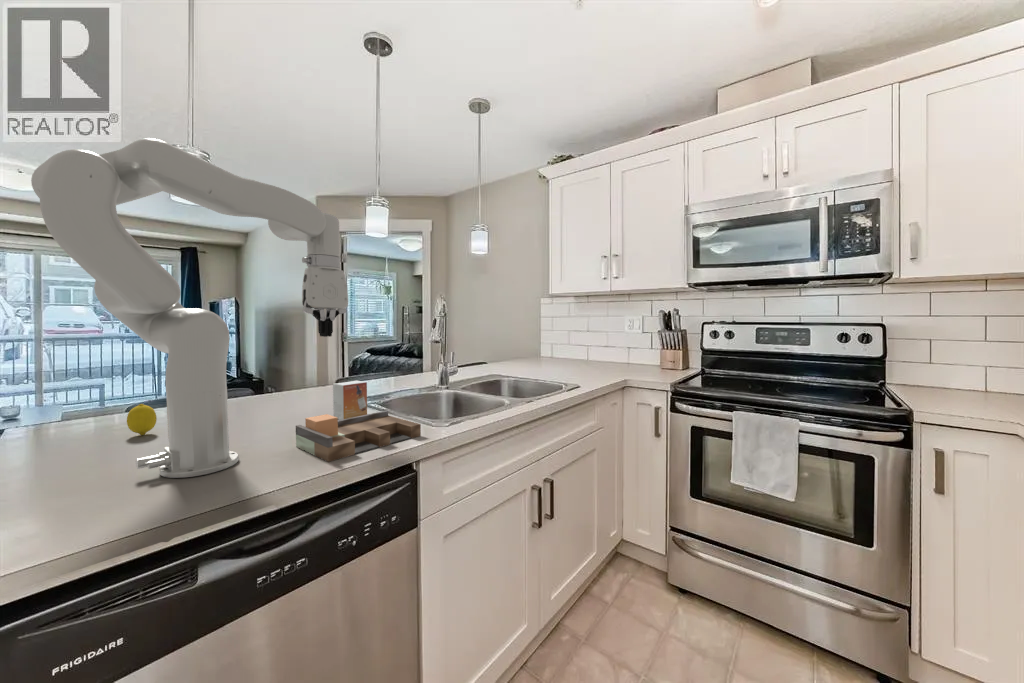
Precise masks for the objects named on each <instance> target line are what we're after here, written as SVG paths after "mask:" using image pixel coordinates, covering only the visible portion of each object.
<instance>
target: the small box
mask: <svg viewBox="0 0 1024 683" xmlns="http://www.w3.org/2000/svg"><path fill="white" fill-rule="evenodd" d="M332 406H333V408H332V410H333V415H332V416H334V417H337V418H338V420H343V419H347V418H352V417H357V416H362V415H367V414H368V383H367V381H362V380H351V381H345V382H338V383H332Z"/></svg>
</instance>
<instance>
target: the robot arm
mask: <svg viewBox="0 0 1024 683" xmlns="http://www.w3.org/2000/svg"><path fill="white" fill-rule="evenodd" d="M30 181H31V187H32V190H33V192H34V193H35V195H36V196H37V198H38V199H39V206H40V212H41V216H42V219H43V221H44V224H45V226H46V228H47V230H48V232H49V234H50V235H51V237H52V238H53V239H54V241H55V242H56V243H57V245H58V246H59V247H60V248H61V249H62V250H63V251H64V252H65V254H67V255H68V256H69V257H70V258H71V259H73V260H74V261H75V263H77V264H78V266H80V267H81V269H83V270H84V271H85V272H86V273H87V274H88V275H89V276H90V277H92V278H93V280H95V281H94V293H95V296H96V298H97V299H98V301H99V303H100V304H101V305H102V306H103V307H104V308H105V310H107V311H108V312H109V313H111V314H112V316H114V317H115V318H116V319H118V321H119V322H121V323H122V324H124V326H126V328H128V329H130V331H132V332H133V333H135V335H137V336H138V337H139V338H140V339H142V340H143V341H144V342H146V343H147V344H148V345H149V346H151V347H152V348H154V349H155V350H157V351H160V352H162V353H163V354H168V355H167V356H168V357H167V362H166V367H165V368H166V369H165V395H166V413H167V435H168V436H167V437H168V439H167V440H168V446H165V447H163V451H161V452H158V453H157V454H155V455H150V456H143V457H137V458H136V459H135V466H136V469H137V470H140V469H145V468H148V470H150V469H156V468H158V467H159V468H158V470H159V475H160V476H162V477H164V478H169V479H180V478H181V479H184V478H185V479H186V478H192V477H194V478H195V477H198V476H204V475H210V474H213V473H216V472H220V471H223V470H225V469H228V468H230V467H233V466H234V465H236V464H237V462H239V459H240V458H239V457H240V456H239V453H238V452H236V451H233V450H230V434H229V411H228V410H229V408H228V405H229V404H228V386H227V385H228V384H227V364H228V363H227V360H228V356H229V355H228V354H229V348H230V347H229V346H230V330H229V327H228V325H227V323H226V322H225V320H224V319H223V318H222V317H221V316H220V315H219V314H217V313H215V312H213V311H211V310H207V309H206V308H205V309H204V308H199V307H198V308H197V307H195V308H194V307H193V308H191V307H190V308H189V307H187V308H186V307H184V306H183V305H182V304H181V302H179V300H180V298H181V287H180V285H179V283H178V281H177V280H176V279H175V277H174V276H173V275H172V274H171V273H170V272H169V271H167V270H166V269H165V268H164V266H162V265H161V264H160V263H159V262H158V261H157V260H156V259H155V258H154V257H153V256H152V255H151V254H150V253H149V252H148V251H147V250H145V248H143V247H142V246H141V245H140V243H138V241H137V240H136V239H135V238H134V237H133V236H132V235H131V234H130V233H129V232H128V230H126V228H125V226H124V225H123V224H122V222H121V221H120V217H119V216H118V215H119V214H118V213H117V206H118V205H121V204H122V205H123V204H127V203H129V202H133V201H137V200H140V199H143V198H146V197H150V196H152V195H154V194H157V193H161V192H165V193H167V194H169V195H172V196H174V197H176V198H177V197H178V198H180V199H183V200H186V201H188V202H190V203H193V204H195V205H198V206H201V207H203V208H205V209H208V210H211V211H212V212H216V213H218V214H221V215H225V216H233V217H238V218H239V217H241V218H242V217H244V218H246V217H247V218H257V219H261V220H262V219H263V220H267V224H268V228H269V229H270V231H271V232H272V234H273V235H274V236H276V237H277V238H279V239H282V240H285V241H296V242H297V241H299V242H306V246H307V248H306V253H307V255H306V256H304V257H302V258H301V262H302V263H303V264H306V267H307V268H304V272H303V278H302V288H301V303H302V312H303V313H305V314H307V315H312V316H313V317H314V318H315V320H316V321H317V325H318V326H317V330H318V331H317V332H318V334H319V337H323V338H325V337H327V338H329V337H332V336H333V335H332V334H333V332H334V331H333V330H334V323H333V322H334V321H335V319H336V318H337V317H338V315H341V314H346V312H347V307H349V296H348V295H349V294H348V287H347V286H348V285H347V280H346V275H345V271H344V270H342V269H341V252H340V251H341V249H340V248H341V246H340V245H341V244H340V238H341V237H340V236H341V234H340V221H339V218H338V217H337V216H336V215H334V214H330V213H324V212H323V211H322V210H321V209H320V207H318V206H317V205H316V204H314V203H313V202H312V201H310V200H308V199H306V198H304V197H302V196H301V195H298V194H296V193H293V191H289V190H288V189H284V188H281V187H279V186H276V185H272V184H268V183H264V182H261V181H259V180H254V179H250V178H248V177H247V178H246V177H242V176H240V175H237V174H234V173H232V172H229V171H228V170H225V169H223V168H221V167H219V166H216V165H214V164H213V163H210V162H208V161H206V160H204V159H202V158H200V157H198V156H196V155H193V154H192V153H190V152H188V151H185V150H184V149H181V148H179V147H176V146H175V145H172V144H171V143H168V142H166V141H163V140H161V139H158V138H157V139H156V138H152V137H151V138H150V137H147V138H140V139H137V140H134V141H132V142H131V143H129V144H127V145H125V146H124V147H122V148H120V149H116V150H113V151H109V152H105V153H101V154H97V153H95V152H93V151H90V150H84V149H78V148H77V149H76V148H74V149H66V150H62V151H60V152H58V153H55V154H53V155H52V156H50V157H49V158H48V159H47V160H45V161H44V162H43V163H41V164H40V165H38V167H37V168H35V170H34V171H33V173H32V175H31V180H30ZM325 309H326V310H325Z"/></svg>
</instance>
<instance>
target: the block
mask: <svg viewBox="0 0 1024 683" xmlns="http://www.w3.org/2000/svg"><path fill="white" fill-rule="evenodd" d="M304 419H305V427H307V428H310V429H312V430H315V431H317V432H320V433H323V434H325V435H328V436H334V435H338V418H337V417H334V416H333V415H331V414H328V413H327V414H320V415H315V416H310V417H309V416H308V417H305V418H304Z"/></svg>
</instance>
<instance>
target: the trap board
mask: <svg viewBox="0 0 1024 683" xmlns="http://www.w3.org/2000/svg"><path fill="white" fill-rule="evenodd" d="M421 426H422V425H421V423H417V422H414V421H410V420H406V419H404V418H399V417H396V416H392V415H389V410H383V411H376V412H373V413H367V415H362V416H357V417H352V418H347V419H343V420H338V435H334V436H328V435H325V434H323V433H320V432H317V431H315V430H312V429H310V428H307V427H306V426H305V425H302V424H298V425H295V446H296V448H297V447H298V448H297V449H299V448H300V450H301V451H304V450H305V451H304V452H306V453H308V452H309V453H308V454H310V453H311V455H312V454H313V455H312V456H314V455H315V457H316V458H319V457H320V458H319V459H321V458H322V459H321V460H323V459H324V460H323V461H325V460H326V461H325V462H328V463H329V462H333V461H337V460H340V459H343V458H346V457H350V456H355V455H357V454H361V453H362V454H363V453H365V452H368V451H372V450H376V449H380V448H382V447H386V446H390V445H394V444H397V443H401V442H403V441H407V440H411V439H415V438H418V437H421V435H422V434H421V431H422V430H421V428H422V427H421Z"/></svg>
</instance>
